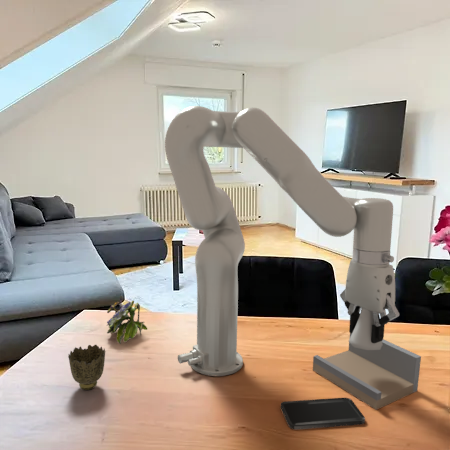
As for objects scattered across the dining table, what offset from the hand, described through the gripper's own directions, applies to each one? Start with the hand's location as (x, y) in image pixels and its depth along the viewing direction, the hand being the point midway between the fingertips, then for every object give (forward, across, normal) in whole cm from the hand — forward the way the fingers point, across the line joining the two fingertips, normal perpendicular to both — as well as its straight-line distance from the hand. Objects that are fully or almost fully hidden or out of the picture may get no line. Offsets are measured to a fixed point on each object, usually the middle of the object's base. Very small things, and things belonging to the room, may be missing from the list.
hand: (365, 335), depth 93 cm
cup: (+10, +28, +53) cm, 61 cm away
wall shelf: (+11, 0, 0) cm, 11 cm away
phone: (+11, -4, +17) cm, 21 cm away
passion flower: (+10, +49, +37) cm, 63 cm away
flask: (+2, 0, 0) cm, 2 cm away
